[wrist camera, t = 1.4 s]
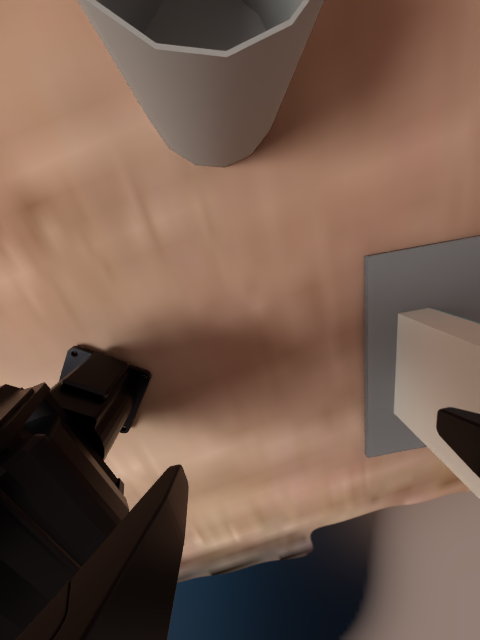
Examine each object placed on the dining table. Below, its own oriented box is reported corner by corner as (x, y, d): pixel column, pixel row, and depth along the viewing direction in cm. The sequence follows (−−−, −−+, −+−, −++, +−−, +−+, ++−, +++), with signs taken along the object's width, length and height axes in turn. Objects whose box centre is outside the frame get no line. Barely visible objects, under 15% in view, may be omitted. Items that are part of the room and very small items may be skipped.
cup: (144, 161, 16) (22, 34, 6) (133, -13, 13) (-108, -704, 4) (273, 171, 16) (344, 70, 7) (286, 6, 14) (429, -527, 4)
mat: (365, 453, 25) (367, 457, 24) (364, 256, 18) (368, 256, 18) (552, 417, 25) (559, 421, 24) (615, 210, 19) (626, 209, 18)
